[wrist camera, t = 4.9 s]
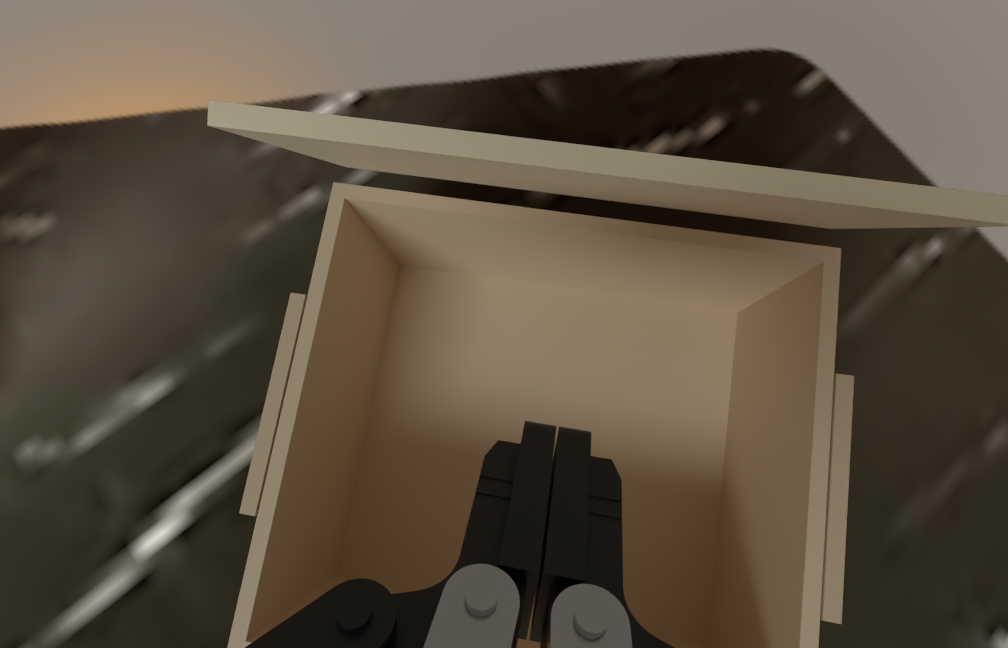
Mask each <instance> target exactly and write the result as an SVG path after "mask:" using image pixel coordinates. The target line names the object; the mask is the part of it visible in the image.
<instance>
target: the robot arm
mask: <svg viewBox="0 0 1008 648" xmlns="http://www.w3.org/2000/svg"><path fill="white" fill-rule="evenodd" d="M555 435H556V426H554V425H548V424H542V423H536V422H530V421H525V423H524V428H523V434H522V439H521V444H518V443H513V442H507V441H501V440H498V441H497V442H496V443H495V444H494V446H493V447H492V448H491V449H490V450H489V451H488V453H487V454H486V455H485V456H484V460H483V464H482V468H481V472H480V477H479V480H478V484H477V488H476V493H475V496H474V500H473V504H472V508H471V512H470V516H469V520H468V524H467V528H466V532H465V536H464V540H463V544H462V548H461V552H460V556H459V559H458V562H457V564H456V566H455V567H454V569H453V570H452V572H451V573H450V574H449V575H448V576H447V577H446V578H445V579H443V580H442V581H441V582H439V583H438V584H436V585H434V586H432V587H429V588H426V589H422V590H417V591H410V592H403V593H396V594H391V593H390V592H389V590H388V589H387V588H386V587H385V586H383V585H382V584H380V583H379V582H376V581H374V580H370V579H363V578H359V579H352V580H347V581H345V582H342V583H340V584H338V585H337V586H335V587H333V588H332V589H330V590H329V591H327V592H326V593H324V594H323V595H322V596H320V597H319V598H317V599H316V600H314V601H313V602H311V603H310V604H308V605H307V606H305V607H304V608H302V609H301V610H299V611H298V612H296V613H295V614H294V615H292V616H291V617H289V618H288V619H286V620H285V621H283V622H282V623H280V624H279V625H277V626H276V627H274V628H273V629H271V630H270V631H268V632H267V633H266V634H264V635H263V636H261V637H260V638H258V639H257V640H255V641H254V642H252V643H251V644H249V645H248V646H246V647H245V648H516V647H517V641H518V638H519V639H524V640H526V638H527V633H528V628H529V623H530V618H531V612H532V607H533V602H534V608H533V616H532V624H531V632H530V641H535V642H540V648H675V647H673V646H671V645H669V644H667V643H666V642H664V641H662V640H660V639H658V638H657V637H655V636H654V635H652V634H650V633H649V632H648V631H647V630H645V629H644V628H643V627H642V626H641V625H640V624H639V623H638V622H637V620H636V619H635V618H634V616H633V615H632V613H631V612H630V610H629V608H628V606H627V603H626V601H625V597H624V591H623V543H622V505H621V504H622V479H621V477H620V475H619V473H618V471H617V469H616V467H615V465H614V463H613V461H612V459H606V458H600V457H594V456H591V432H590V431H584V430H578V429H572V428H566V427H560V426H559V429H558V434H557V440H556V445H555V451H554V444H555ZM553 452H554V456H553ZM534 597H535V599H534Z"/></svg>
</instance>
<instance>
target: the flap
mask: <svg viewBox="0 0 1008 648" xmlns="http://www.w3.org/2000/svg"><path fill="white" fill-rule="evenodd" d="M207 125H208V126H211V127H214V128H218V129H221V130H224V131H228V132H231V133H234V134H238V135H241V136H244V137H248V138H251V139H254V140H258V141H261V142H264V143H268V144H271V145H274V146H278V147H281V148H284V149H288V150H291V151H294V152H298V153H301V154H304V155H308V156H311V157H314V158H318V159H321V160H324V161H328V162H331V163H334V164H338V165H341V166H344V167H350V168H357V169H365V170H373V171H381V172H389V173H397V174H405V175H412V176H420V177H428V178H436V179H444V180H452V181H460V182H467V183H475V184H483V185H491V186H499V187H507V188H514V189H522V190H530V191H538V192H546V193H554V194H562V195H569V196H577V197H585V198H593V199H601V200H609V201H617V202H624V203H632V204H640V205H648V206H656V207H664V208H672V209H679V210H687V211H695V212H703V213H711V214H719V215H726V216H734V217H742V218H750V219H758V220H766V221H774V222H781V223H789V224H797V225H805V226H813V227H821V228H829V229H866V228H929V227H988V226H989V227H990V226H1008V196H1006V195H997V194H990V193H981V192H972V191H965V190H956V189H948V188H940V187H931V186H923V185H914V184H906V183H898V182H889V181H881V180H873V179H864V178H856V177H847V176H839V175H831V174H822V173H814V172H806V171H797V170H789V169H781V168H772V167H764V166H755V165H747V164H739V163H730V162H722V161H714V160H705V159H697V158H689V157H680V156H672V155H663V154H655V153H647V152H638V151H630V150H622V149H613V148H605V147H596V146H588V145H580V144H571V143H563V142H555V141H546V140H538V139H530V138H521V137H513V136H504V135H496V134H488V133H479V132H471V131H463V130H454V129H446V128H437V127H429V126H421V125H412V124H404V123H396V122H387V121H379V120H371V119H362V118H354V117H345V116H337V115H329V114H320V113H312V112H304V111H295V110H287V109H279V108H270V107H262V106H253V105H245V104H237V103H228V102H220V101H212V100H208V124H207Z"/></svg>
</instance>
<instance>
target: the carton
mask: <svg viewBox="0 0 1008 648" xmlns="http://www.w3.org/2000/svg"><path fill="white" fill-rule="evenodd" d="M840 262H841V248H834V247H827V246H819V245H811V244H804V243H796V242H788V241H781V240H773V239H765V238H758V237H750V236H742V235H734V234H727V233H719V232H711V231H704V230H696V229H688V228H681V227H673V226H665V225H658V224H650V223H642V222H634V221H627V220H619V219H611V218H604V217H596V216H588V215H581V214H573V213H565V212H558V211H550V210H542V209H534V208H527V207H519V206H511V205H504V204H496V203H488V202H481V201H473V200H465V199H458V198H450V197H442V196H434V195H427V194H419V193H411V192H404V191H396V190H388V189H381V188H373V187H365V186H358V185H350V184H342V183H334V182H333V187H332V191H331V195H330V200H329V204H328V209H327V213H326V217H325V222H324V226H323V230H322V235H321V239H320V244H319V248H318V252H317V257H316V261H315V266H314V270H313V274H312V279H311V283H310V287H309V292H308V296H307V295H303V294H296V293H291V294H290V298H289V302H288V307H287V311H286V315H285V320H284V324H283V328H282V332H281V337H280V341H279V345H278V349H277V354H276V358H275V362H274V367H273V371H272V375H271V379H270V384H269V388H268V392H267V397H266V401H265V405H264V409H263V414H262V418H261V422H260V426H259V431H258V435H257V439H256V444H255V448H254V452H253V456H252V461H251V465H250V469H249V474H248V478H247V482H246V486H245V491H244V495H243V499H242V503H241V508H240V512H239V513H241V514H246V515H252V516H257V520H256V524H255V528H254V533H253V537H252V542H251V546H250V550H249V555H248V559H247V564H246V568H245V572H244V577H243V581H242V585H241V590H240V594H239V599H238V603H237V607H236V612H235V616H234V621H233V625H232V629H231V634H230V638H229V642H228V647H227V648H245V647H246V646H248V645H249V644H251V643H252V642H254V641H255V640H257V639H258V638H260V637H261V636H263V635H264V634H266V633H267V632H268V631H270V630H271V629H273V628H274V627H276V626H277V625H279V624H280V623H282V622H283V621H285V620H286V619H288V618H289V617H291V616H292V615H294V614H295V613H296V612H298V611H299V610H301V609H302V608H304V607H305V606H307V605H308V604H310V603H311V602H313V601H314V600H316V599H317V598H319V597H320V596H322V595H323V594H324V593H326V592H327V591H329V590H330V589H332V588H333V587H335V586H337V585H338V584H340V583H342V582H345V581H347V580H352V579H359V578H363V579H370V580H374V581H376V582H379V583H380V584H382V585H383V586H385V587H386V588H387V589H388V590H389V592H390V593H391V594H396V593H403V592H410V591H417V590H422V589H426V588H429V587H432V586H434V585H436V584H438V583H439V582H441V581H442V580H443V579H445V578H446V577H447V576H448V575H449V574H450V573H451V572H452V570H453V569H454V567H455V566H456V564H457V562H458V559H459V556H460V552H461V548H462V544H463V540H464V536H465V532H466V528H467V524H468V520H469V516H470V512H471V508H472V504H473V500H474V496H475V493H476V488H477V484H478V480H479V477H480V472H481V468H482V464H483V460H484V456H485V455H486V454H487V453H488V451H489V450H490V449H491V448H492V447H493V446H494V444H495V443H496V442H497V441H498V440H501V441H507V442H513V443H518V444H521V439H522V434H523V428H524V423H525V421H530V422H536V423H542V424H548V425H554V426H556V435H555V444H554V451H555V445H556V440H557V434H558V429H559V426H560V427H566V428H572V429H578V430H584V431H590V432H591V456H594V457H600V458H606V459H612V461H613V463H614V465H615V467H616V469H617V471H618V473H619V475H620V477H621V479H622V504H621V505H622V543H623V591H624V597H625V601H626V603H627V606H628V608H629V610H630V612H631V613H632V615H633V616H634V618H635V619H636V620H637V622H638V623H639V624H640V625H641V626H642V627H643V628H644V629H645V630H647V631H648V632H649V633H650V634H652V635H654V636H655V637H657V638H658V639H660V640H662V641H664V642H666V643H667V644H669V645H671V646H673V647H675V648H818V644H819V627H820V619H821V620H823V621H827V622H833V623H838V624H841V623H842V603H843V584H844V564H845V545H846V525H847V506H848V486H849V467H850V447H851V428H852V408H853V389H854V376H850V375H843V374H834V366H835V349H836V331H837V314H838V297H839V279H840ZM553 456H554V452H553ZM534 599H535V597H534ZM533 608H534V602H533V607H532V612H531V618H530V623H529V628H528V633H527V638H526V640H524V639H519V638H518V641H517V647H516V648H540V642H535V641H530V632H531V624H532V616H533Z"/></svg>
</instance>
